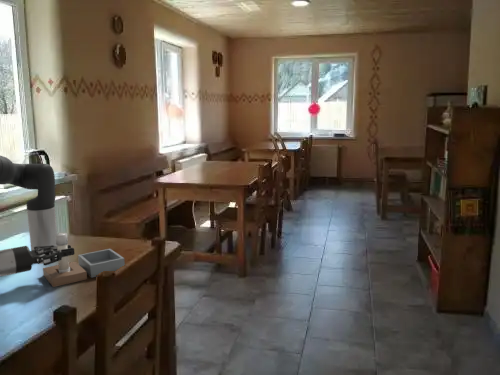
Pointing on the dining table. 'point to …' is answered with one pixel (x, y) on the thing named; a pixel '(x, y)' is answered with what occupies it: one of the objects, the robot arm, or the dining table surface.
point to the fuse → (61, 244)
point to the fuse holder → (64, 274)
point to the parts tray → (100, 261)
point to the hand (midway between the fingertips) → (72, 249)
